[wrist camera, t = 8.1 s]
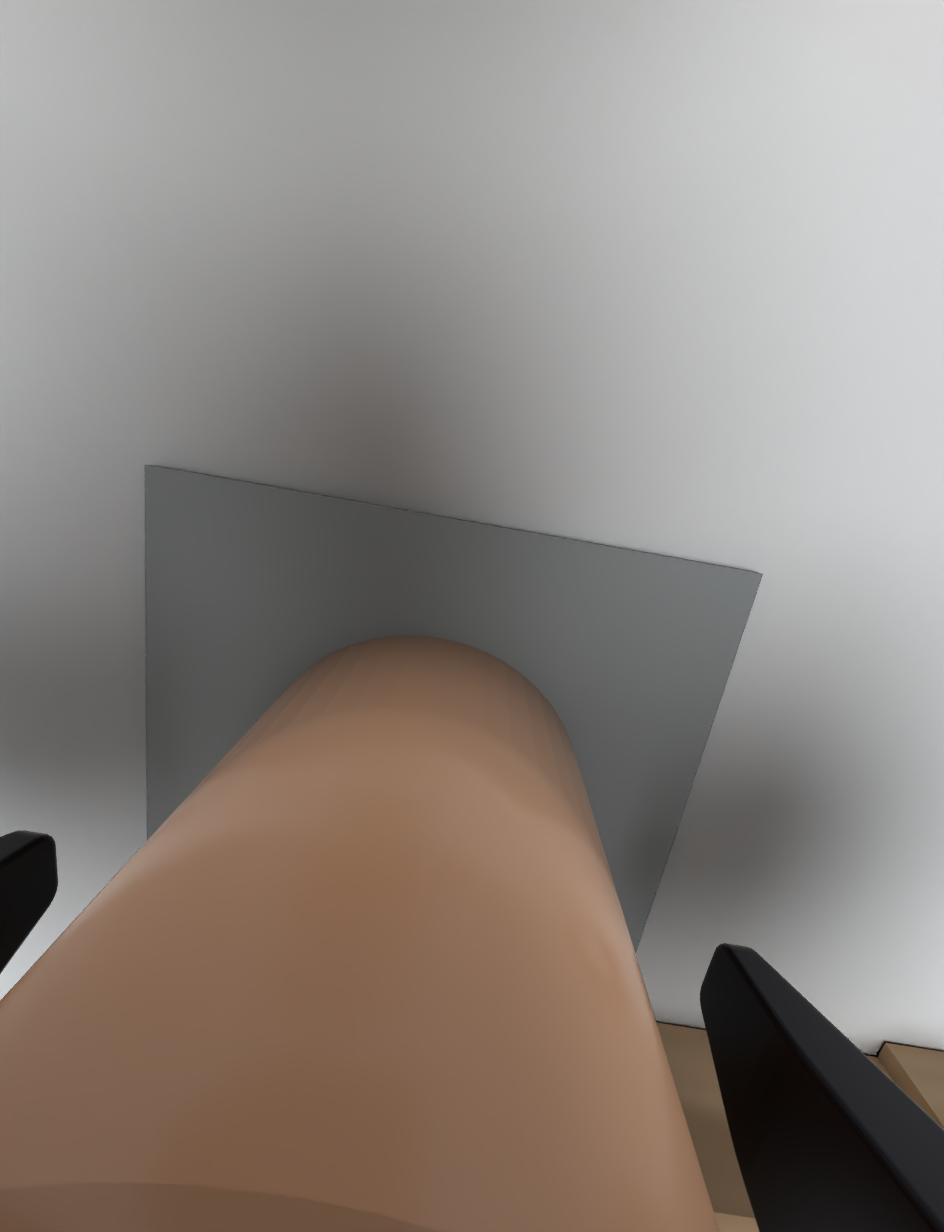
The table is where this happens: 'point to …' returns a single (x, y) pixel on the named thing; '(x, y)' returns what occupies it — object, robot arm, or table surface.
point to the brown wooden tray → (920, 1073)
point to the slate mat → (441, 608)
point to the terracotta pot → (355, 989)
